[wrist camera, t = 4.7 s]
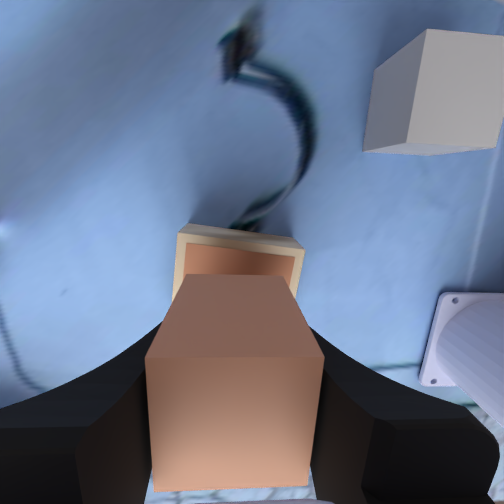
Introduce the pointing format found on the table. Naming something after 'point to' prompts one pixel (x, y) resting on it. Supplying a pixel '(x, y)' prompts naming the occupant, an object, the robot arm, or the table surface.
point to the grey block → (438, 95)
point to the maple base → (236, 254)
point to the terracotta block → (232, 386)
